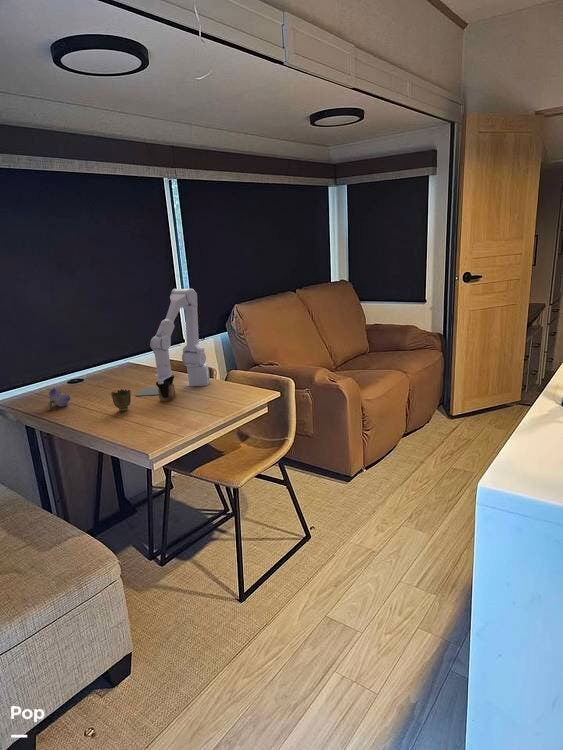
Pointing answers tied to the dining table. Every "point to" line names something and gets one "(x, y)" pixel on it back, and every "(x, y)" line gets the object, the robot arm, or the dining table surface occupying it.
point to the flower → (58, 398)
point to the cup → (122, 399)
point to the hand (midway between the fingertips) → (167, 395)
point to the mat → (148, 391)
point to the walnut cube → (171, 394)
